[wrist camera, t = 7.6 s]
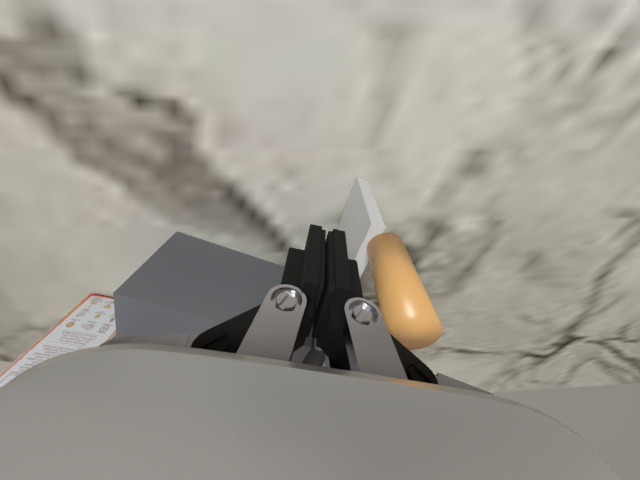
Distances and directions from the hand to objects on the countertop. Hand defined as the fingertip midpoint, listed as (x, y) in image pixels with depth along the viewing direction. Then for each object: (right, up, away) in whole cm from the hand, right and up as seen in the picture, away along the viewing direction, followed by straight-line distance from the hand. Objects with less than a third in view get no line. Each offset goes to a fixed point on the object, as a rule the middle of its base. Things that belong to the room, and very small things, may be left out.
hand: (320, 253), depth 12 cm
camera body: (-7, -4, +14) cm, 17 cm away
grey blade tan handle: (+2, +1, +10) cm, 11 cm away
